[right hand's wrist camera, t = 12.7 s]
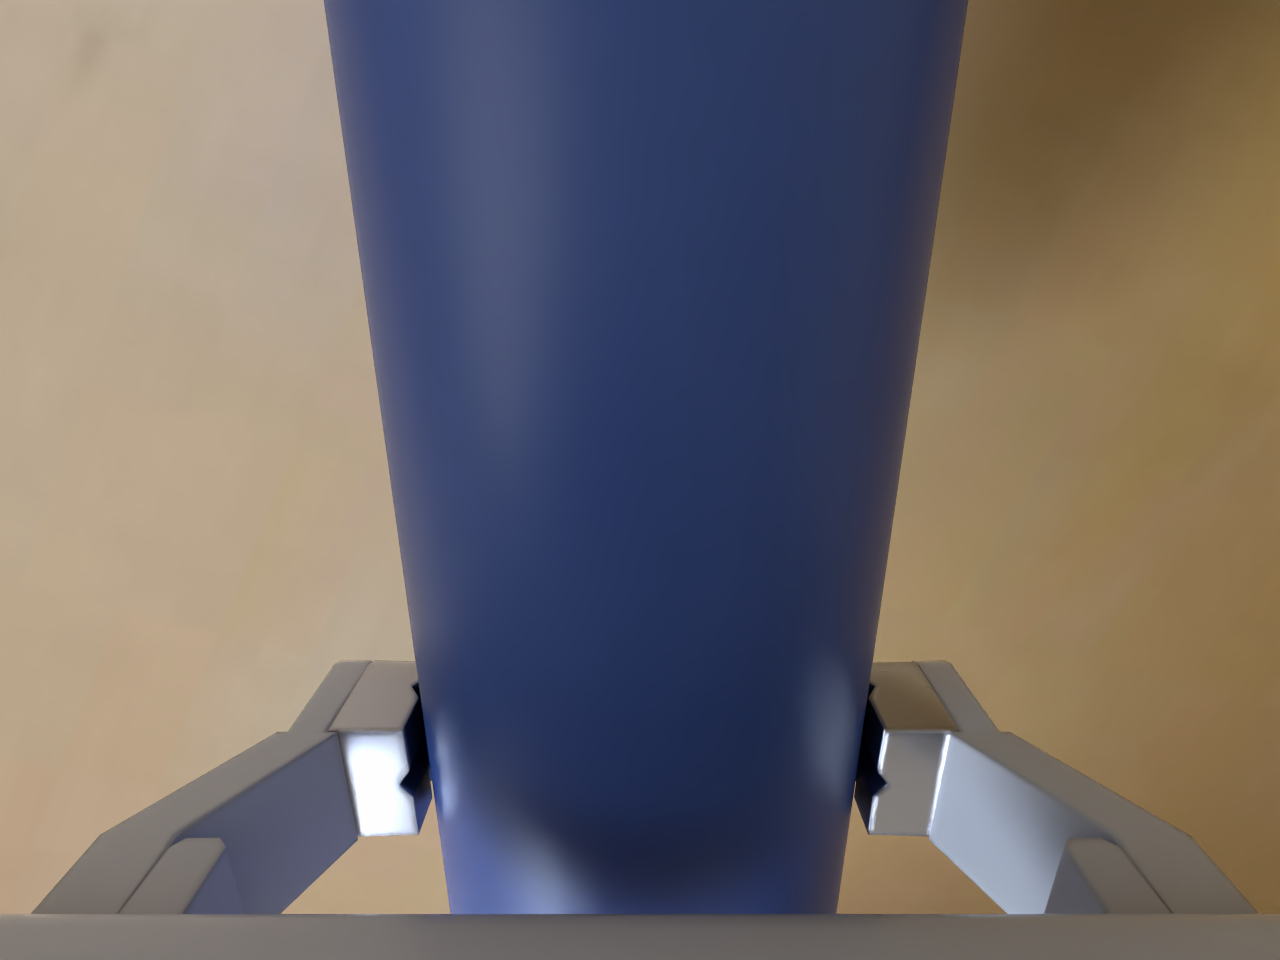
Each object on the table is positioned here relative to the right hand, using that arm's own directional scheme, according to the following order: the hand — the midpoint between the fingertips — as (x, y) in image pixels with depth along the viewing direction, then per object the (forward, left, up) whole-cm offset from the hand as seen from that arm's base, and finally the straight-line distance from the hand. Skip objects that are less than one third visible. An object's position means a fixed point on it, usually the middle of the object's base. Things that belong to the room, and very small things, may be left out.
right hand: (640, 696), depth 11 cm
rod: (+2, +8, -3) cm, 9 cm away
